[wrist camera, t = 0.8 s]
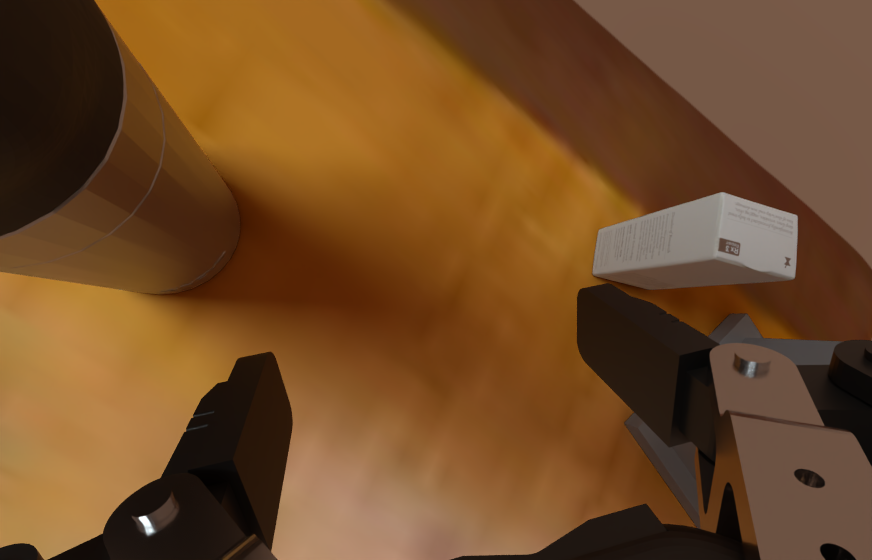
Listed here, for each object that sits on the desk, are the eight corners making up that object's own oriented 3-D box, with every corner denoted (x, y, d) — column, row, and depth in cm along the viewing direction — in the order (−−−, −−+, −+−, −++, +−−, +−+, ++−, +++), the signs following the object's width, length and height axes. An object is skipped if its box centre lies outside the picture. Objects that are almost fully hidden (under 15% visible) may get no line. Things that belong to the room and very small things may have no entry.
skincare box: (653, 244, 37) (804, 209, 26) (648, 293, 37) (800, 281, 25) (594, 227, 36) (725, 183, 24) (587, 279, 35) (718, 259, 23)
